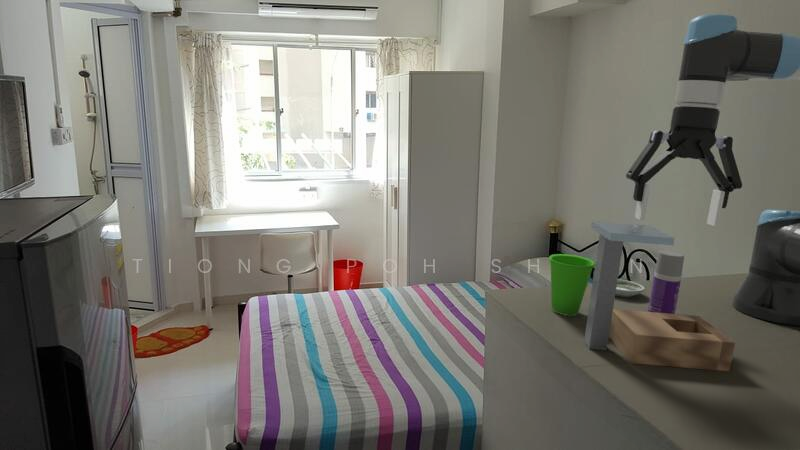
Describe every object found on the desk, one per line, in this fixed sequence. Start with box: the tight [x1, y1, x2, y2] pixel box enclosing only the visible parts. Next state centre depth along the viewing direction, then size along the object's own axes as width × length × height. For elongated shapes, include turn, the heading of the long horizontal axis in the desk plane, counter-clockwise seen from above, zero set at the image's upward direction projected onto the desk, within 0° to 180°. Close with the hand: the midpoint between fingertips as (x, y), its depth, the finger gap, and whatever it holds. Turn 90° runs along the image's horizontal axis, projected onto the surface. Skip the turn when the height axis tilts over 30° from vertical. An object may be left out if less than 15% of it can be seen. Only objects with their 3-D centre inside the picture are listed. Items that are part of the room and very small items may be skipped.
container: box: [647, 249, 685, 314], centre depth 106 cm, size 5×5×15 cm
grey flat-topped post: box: [583, 220, 675, 351], centre depth 94 cm, size 10×10×21 cm
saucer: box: [615, 278, 645, 298], centre depth 128 cm, size 10×10×2 cm
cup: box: [548, 253, 596, 316], centre depth 112 cm, size 9×9×11 cm
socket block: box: [608, 308, 736, 372], centre depth 96 cm, size 16×12×5 cm
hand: (675, 222), depth 104 cm, fingers open, 13 cm apart
